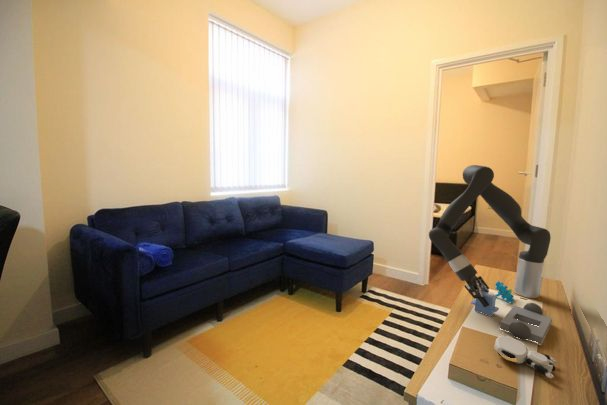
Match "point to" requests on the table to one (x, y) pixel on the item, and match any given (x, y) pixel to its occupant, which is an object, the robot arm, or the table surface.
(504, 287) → the gear
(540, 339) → the chassis
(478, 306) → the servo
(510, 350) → the robot toy
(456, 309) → the table surface
